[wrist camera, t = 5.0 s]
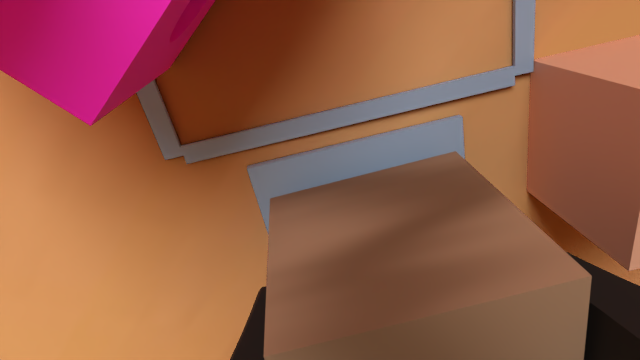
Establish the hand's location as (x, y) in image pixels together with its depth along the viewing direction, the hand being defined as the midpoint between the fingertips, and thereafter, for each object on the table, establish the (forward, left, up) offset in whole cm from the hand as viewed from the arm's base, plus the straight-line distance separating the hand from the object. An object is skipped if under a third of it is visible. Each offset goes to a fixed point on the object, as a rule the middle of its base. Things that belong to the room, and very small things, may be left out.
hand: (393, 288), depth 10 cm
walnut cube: (0, 0, -2) cm, 2 cm away
